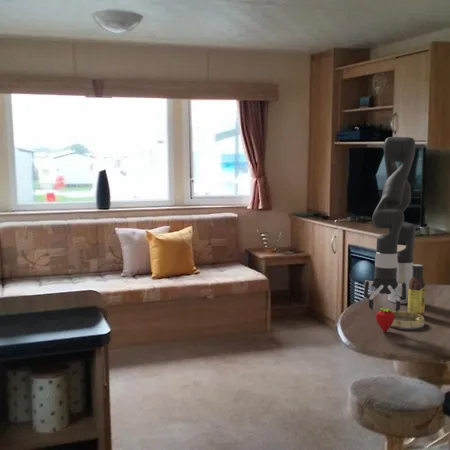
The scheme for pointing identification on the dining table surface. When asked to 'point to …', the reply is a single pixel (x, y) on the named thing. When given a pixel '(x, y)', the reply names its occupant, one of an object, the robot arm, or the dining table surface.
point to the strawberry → (385, 318)
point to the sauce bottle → (416, 291)
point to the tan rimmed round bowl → (407, 320)
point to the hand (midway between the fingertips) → (383, 310)
